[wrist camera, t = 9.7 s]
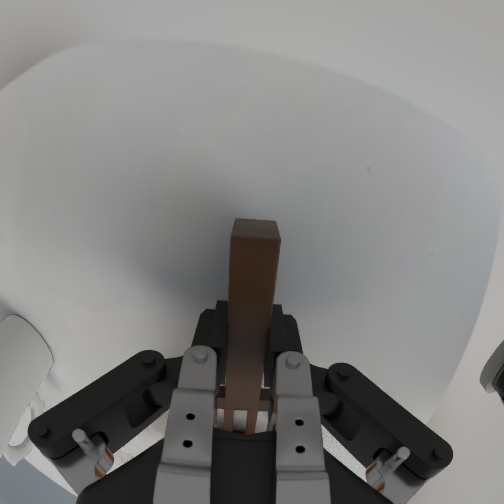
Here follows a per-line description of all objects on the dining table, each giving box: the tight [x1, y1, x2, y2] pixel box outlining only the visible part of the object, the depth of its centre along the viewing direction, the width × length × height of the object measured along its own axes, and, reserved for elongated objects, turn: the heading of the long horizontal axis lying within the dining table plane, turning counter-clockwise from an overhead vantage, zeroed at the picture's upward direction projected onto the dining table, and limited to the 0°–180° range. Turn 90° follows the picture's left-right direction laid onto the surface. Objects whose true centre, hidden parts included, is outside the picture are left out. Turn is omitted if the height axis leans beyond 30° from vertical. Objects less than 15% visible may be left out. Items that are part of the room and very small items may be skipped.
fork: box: [217, 218, 281, 435], centre depth 14 cm, size 16×5×2 cm, turn 176°
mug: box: [0, 315, 53, 466], centre depth 12 cm, size 10×7×12 cm, turn 7°
